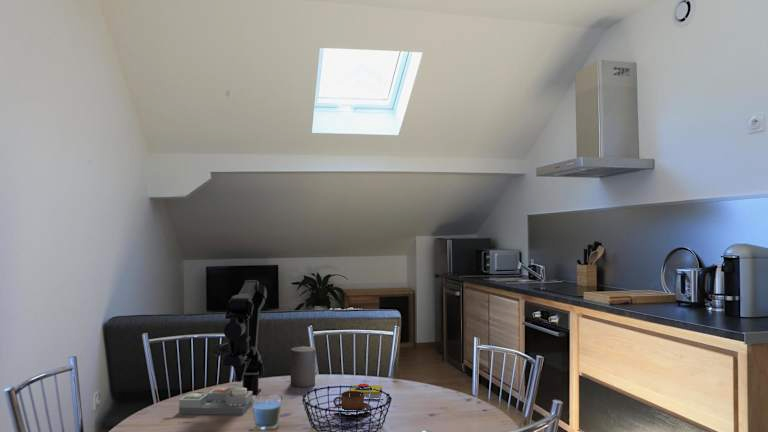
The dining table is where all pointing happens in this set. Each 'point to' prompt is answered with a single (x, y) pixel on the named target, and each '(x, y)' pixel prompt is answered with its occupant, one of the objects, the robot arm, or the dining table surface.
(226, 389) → the terracotta button
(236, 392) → the cream button
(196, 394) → the sage button
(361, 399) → the cup and saucer
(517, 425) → the dining table surface
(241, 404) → the button panel
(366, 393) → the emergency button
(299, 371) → the pillar candle
